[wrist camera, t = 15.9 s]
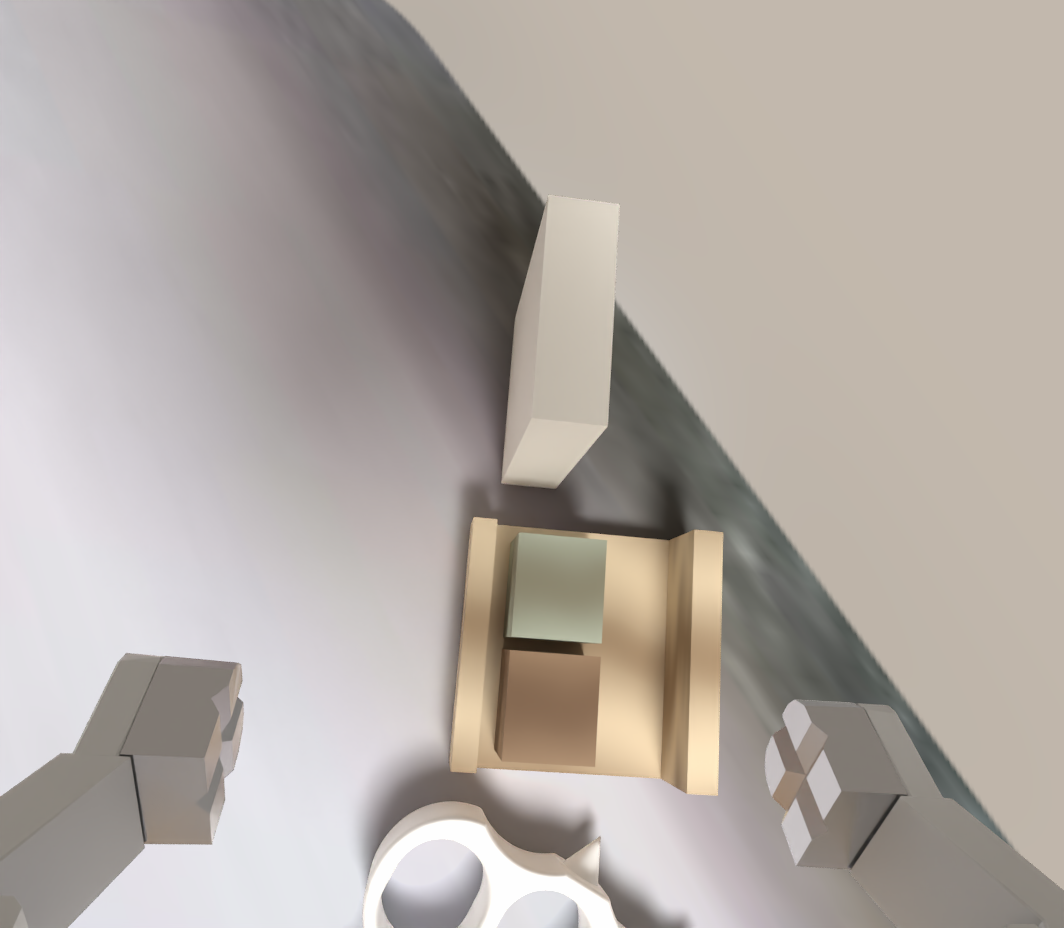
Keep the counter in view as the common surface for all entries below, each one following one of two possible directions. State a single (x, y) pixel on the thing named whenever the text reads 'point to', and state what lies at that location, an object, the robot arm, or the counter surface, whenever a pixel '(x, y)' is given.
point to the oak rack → (610, 657)
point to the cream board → (562, 343)
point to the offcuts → (550, 678)
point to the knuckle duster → (490, 868)
